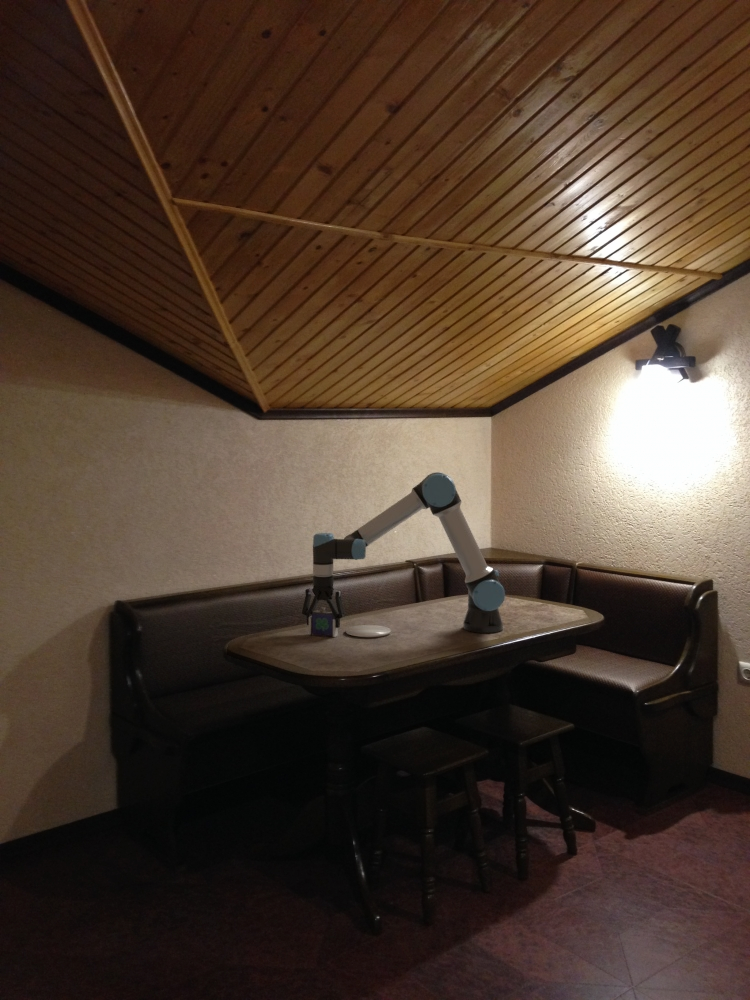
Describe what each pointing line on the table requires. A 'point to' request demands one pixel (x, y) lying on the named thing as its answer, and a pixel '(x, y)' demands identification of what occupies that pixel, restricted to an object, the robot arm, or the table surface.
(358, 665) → the table surface
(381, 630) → the plate
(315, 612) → the blue hip flask
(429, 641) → the table surface
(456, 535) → the robot arm
